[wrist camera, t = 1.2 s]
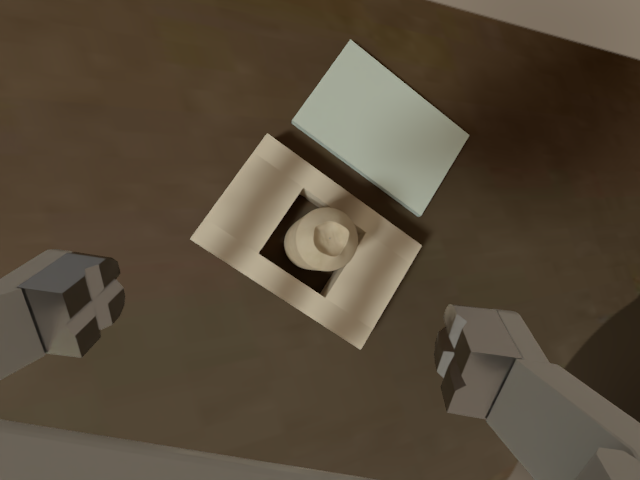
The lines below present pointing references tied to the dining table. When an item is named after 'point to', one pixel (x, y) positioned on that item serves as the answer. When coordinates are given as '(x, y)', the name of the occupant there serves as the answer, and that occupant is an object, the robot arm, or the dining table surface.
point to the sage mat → (381, 128)
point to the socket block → (266, 213)
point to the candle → (321, 240)
